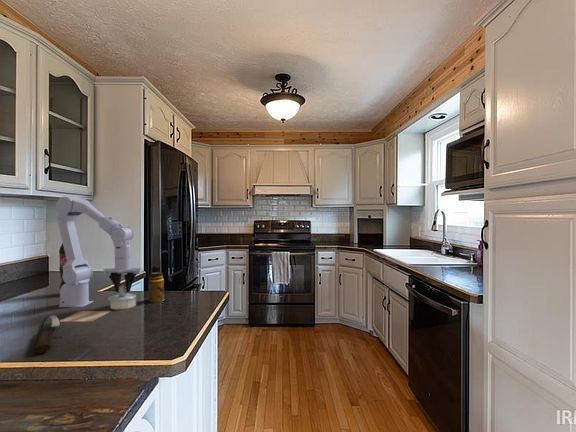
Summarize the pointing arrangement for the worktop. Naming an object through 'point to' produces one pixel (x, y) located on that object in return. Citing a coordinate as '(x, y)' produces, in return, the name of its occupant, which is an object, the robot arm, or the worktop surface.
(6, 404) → the worktop surface
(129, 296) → the lid
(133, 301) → the bowl
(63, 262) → the cola bottle
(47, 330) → the kitchen knife
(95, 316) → the mat
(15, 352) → the worktop surface
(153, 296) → the condiment
